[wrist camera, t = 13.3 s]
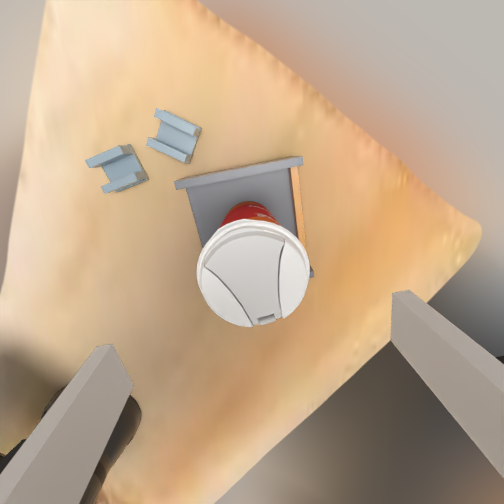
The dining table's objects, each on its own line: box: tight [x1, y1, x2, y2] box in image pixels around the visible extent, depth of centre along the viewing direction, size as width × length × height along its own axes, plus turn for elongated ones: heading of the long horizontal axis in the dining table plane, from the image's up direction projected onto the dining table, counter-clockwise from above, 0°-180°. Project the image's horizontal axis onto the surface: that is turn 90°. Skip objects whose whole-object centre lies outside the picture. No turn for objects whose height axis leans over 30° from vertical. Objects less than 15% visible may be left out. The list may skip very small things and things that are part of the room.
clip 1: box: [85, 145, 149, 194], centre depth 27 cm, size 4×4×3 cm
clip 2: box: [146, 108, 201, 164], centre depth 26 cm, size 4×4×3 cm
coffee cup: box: [197, 201, 310, 327], centre depth 23 cm, size 8×8×15 cm
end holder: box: [174, 156, 314, 278], centre depth 29 cm, size 13×14×5 cm
